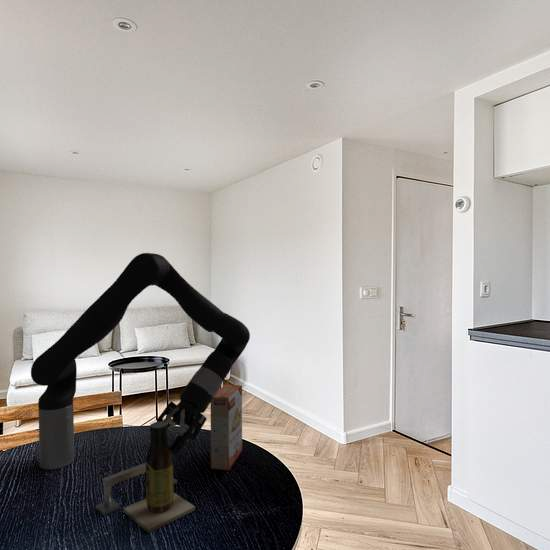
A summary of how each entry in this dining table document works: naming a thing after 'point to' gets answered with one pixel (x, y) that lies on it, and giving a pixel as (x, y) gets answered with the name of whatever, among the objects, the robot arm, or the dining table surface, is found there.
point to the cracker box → (226, 427)
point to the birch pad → (157, 513)
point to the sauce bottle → (159, 470)
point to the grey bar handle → (109, 503)
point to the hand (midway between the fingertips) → (162, 447)
